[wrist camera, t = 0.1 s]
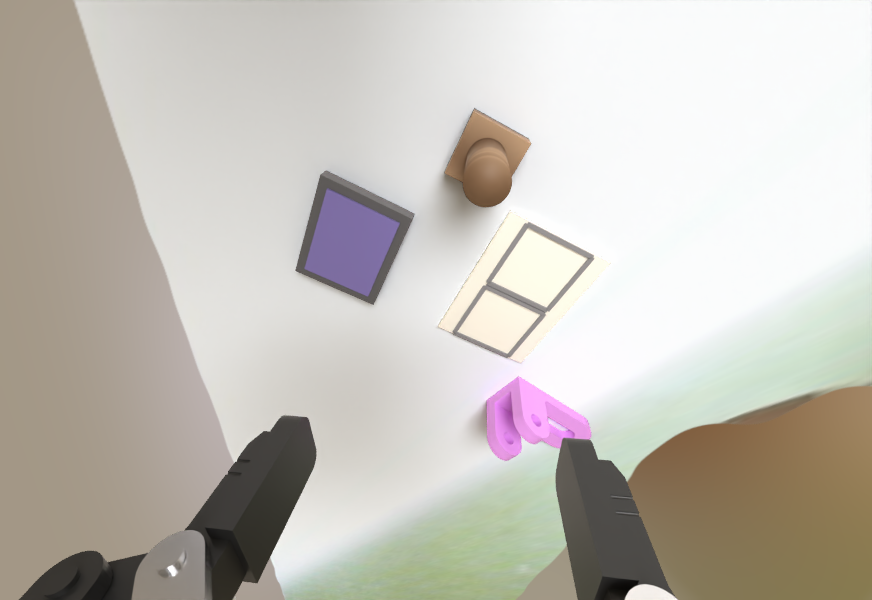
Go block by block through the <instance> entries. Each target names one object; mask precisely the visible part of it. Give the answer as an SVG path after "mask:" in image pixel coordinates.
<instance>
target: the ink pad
mask: <svg viewBox="0 0 872 600" xmlns="http://www.w3.org/2000/svg"><path fill="white" fill-rule="evenodd" d="M413 217H414V213H412V212H410V211H408V210H406V209H404V208H402V207H400V206H398V205H395V204H393V203H391V202H389V201H387V200H385V199H383V198H381V197H379V196H377V195H375V194H373V193H371V192H369V191H367V190H365V189H363V188H361V187H359V186H357V185H355V184H353V183H350V182H348V181H346V180H344V179H342V178H340V177H338V176H336V175H334V174H332V173H330V172H328V171H325V172H324V173H322V174H321V175H320V179H319V183H318V187H317V190H316V194H315V198H314V202H313V206H312V210H311V213H310V217H309V221H308V225H307V229H306V232H305V236H304V240H303V244H302V248H301V251H300V255H299V259H298V263H297V267H296V270H295V271H297V272H299V273H302V274H304V275H306V276H309V277H311V278H313V279H315V280H318V281H320V282H322V283H325V284H327V285H329V286H332V287H334V288H336V289H338V290H341V291H343V292H345V293H348V294H350V295H352V296H355V297H357V298H359V299H361V300H364V301H366V302H368V303H371V304H373V305H374V302H375V300H376V298H377V296H378V294H379V291H380V289H381V287H382V285H383V283H384V280H385V278H386V276H387V274H388V272H389V269H390V267H391V265H392V263H393V261H394V258H395V256H396V254H397V252H398V250H399V247H400V245H401V243H402V241H403V239H404V236H405V234H406V232H407V230H408V228H409V225H410V223H411V221H412V219H413Z"/></svg>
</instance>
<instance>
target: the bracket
mask: <svg viewBox="0 0 872 600" xmlns="http://www.w3.org/2000/svg"><path fill="white" fill-rule="evenodd" d="M547 417H549V418H551V419H552V420H554V421H556V422H557V423H559V424H561V425H562V426H564V427H566V428H567V429H569V430H568V431H561V430H559V429H557V428H556V427H554V426H552V425H550V424H549V423H548V418H547ZM521 436H522V437H523V438H524V439H525V440H526V441H527V442H529V443H531V444H536V443H538V442H540V441H544V442H546V443H547V444H549V445H551V446H553V447H556V448H561V443H562V439H563V438H576V439H590V438H591V430H590V427H589V423H588V421H587V419H586V418H585V417H583V416H582V415H580V414H579V413H577V412H575V411H574V410H572V409H570V408H569V407H567V406H566V405H564V404H562V403H561V402H559V401H558V400H556V399H554V398H553V397H551V396H550V395H548V394H546V393H545V392H543V391H542V390H540V389H538V388H537V387H535V386H534V385H532V384H530V383H529V382H527V381H525V380H524V379H522V378H521V377H519V376H518V377H517V378H516V379H514V380H513V381H512V382H510V383H509V384H508V385H506V386H505V387H504V388H502V389H501V390H500V391H498V392H497V393H496V394H494V395H493V396H492V397H490V398H489V399H488V400H487V440H488V443H489V446H490V448H491V450H492V451H493V453H494V454H495V455H496V456H497V457H498V458H500V459H502V460H505V461H507V460H510V459H511V458H513V457H515V456H516V455H518V454H519V453H520V452H521V448H522V445H521Z"/></svg>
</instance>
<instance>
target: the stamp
mask: <svg viewBox="0 0 872 600" xmlns="http://www.w3.org/2000/svg"><path fill="white" fill-rule="evenodd" d="M530 145H531V142H530V141H529V139H528V138H527V137H525V136H523V135H521V134H520V133H518V132H516V131H514V130H512V129H511V128H509V127H507V126H505V125H503V124H502V123H500V122H498V121H496V120H494V119H493V118H491V117H489V116H487V115H486V114H484V113H482V112H480V111H478V110H477V109H475V108H474V110H473V112H472V114H471V116H470V119H469V121H468V123H467V125H466V127H465V129H464V131H463V133H462V135H461V138H460V140H459V142H458V144H457V146H456V148H455V150H454V152H453V155H452V157H451V159H450V161H449V163H448V165H447V168H446V171H445V174H447V175H449V176H451V177H453V178H455V179H457V180H459V181H460V182H462V183H463V189H464V193H465V195H466V197H467V198H468V199H469V200H470V201H471V202H472V203H473V204H475V205H477V206H480V207H492V206H495V205H497V204H499V203H501V202H502V201H503V200H504V199H505V198H506V197H507V196H508V194H509V192H510V189H511V186H512V178H511V177H512V175H513V174H514V172H515V170H516V169H517V167H518V165H519V163H520V162H521V160H522V158H523V157H524V155H525V153H526V152H527V150H528V148H529V147H530Z"/></svg>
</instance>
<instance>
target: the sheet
mask: <svg viewBox="0 0 872 600" xmlns="http://www.w3.org/2000/svg"><path fill="white" fill-rule="evenodd" d="M610 264H611V263H610V261H608V260H606V259H604V258H602V257H600V256H598V255H596V254H594V253H592V252H590V251H588V250H587V249H585V248H583V247H581V246H579V245H577V244H575V243H573V242H571V241H569V240H567V239H565V238H563V237H561V236H559V235H557V234H556V233H554V232H552V231H550V230H548V229H546V228H544V227H542V226H540V225H538V224H536V223H534V222H532V221H530V220H528V219H526V218H524V217H523V216H521V215H519V214H517V213H515V212H513V211H511V210H510V212H509V213H508V215H507V217H506V218H505V220H504V221H503V223H502V225H501V226H500V228H499V229H498V231H497V233H496V234H495V236H494V237H493V239H492V241H491V242H490V244H489V245H488V247H487V248H486V250H485V252H484V253H483V255H482V256H481V258H480V260H479V261H478V263H477V264H476V266H475V268H474V269H473V271H472V272H471V274H470V276H469V277H468V279H467V280H466V282H465V284H464V285H463V287H462V288H461V290H460V292H459V293H458V295H457V296H456V298H455V300H454V301H453V303H452V304H451V306H450V307H449V309H448V311H447V312H446V314H445V315H444V317H443V319H442V320H441V322H440V323H439V325H438V327H439V328H442V329H444V330H446V331H449V332H451V333H453V335H456V336H458V337H460V338H463V339H465V340H467V341H469V342H472V343H474V344H476V345H479V346H481V347H483V348H485V349H488V350H490V351H492V352H494V353H497V354H499V355H501V356H504V357H506V358H510V359H512V360H515V361H517V362H519V363H522V362H523V360H524V359H525V358H526V357H527V356H528V355H529V354H530V353H531V352H532V350H533V349H534V348H535V347H536V346H537V345H538V344H539V343H540V341H541V340H542V339H543V338H544V337H545V336H546V335H547V334H548V333H549V331H550V330H551V329H552V328H553V327H554V326H555V325H556V324H557V323H558V321H559V320H560V319H561V318H562V317H563V316H564V315H565V314H566V313H567V311H568V310H569V309H570V308H571V307H572V306H573V305H574V304H575V303H576V301H577V300H578V299H579V298H580V297H581V296H582V295H583V294H584V292H585V291H586V290H587V289H588V288H589V287H590V286H591V285H592V284H593V282H594V281H595V280H596V279H597V278H598V277H599V276H600V275H601V274H602V272H603V271H604V270H605V269H606V268H607V267H608V266H609V265H610Z"/></svg>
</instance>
